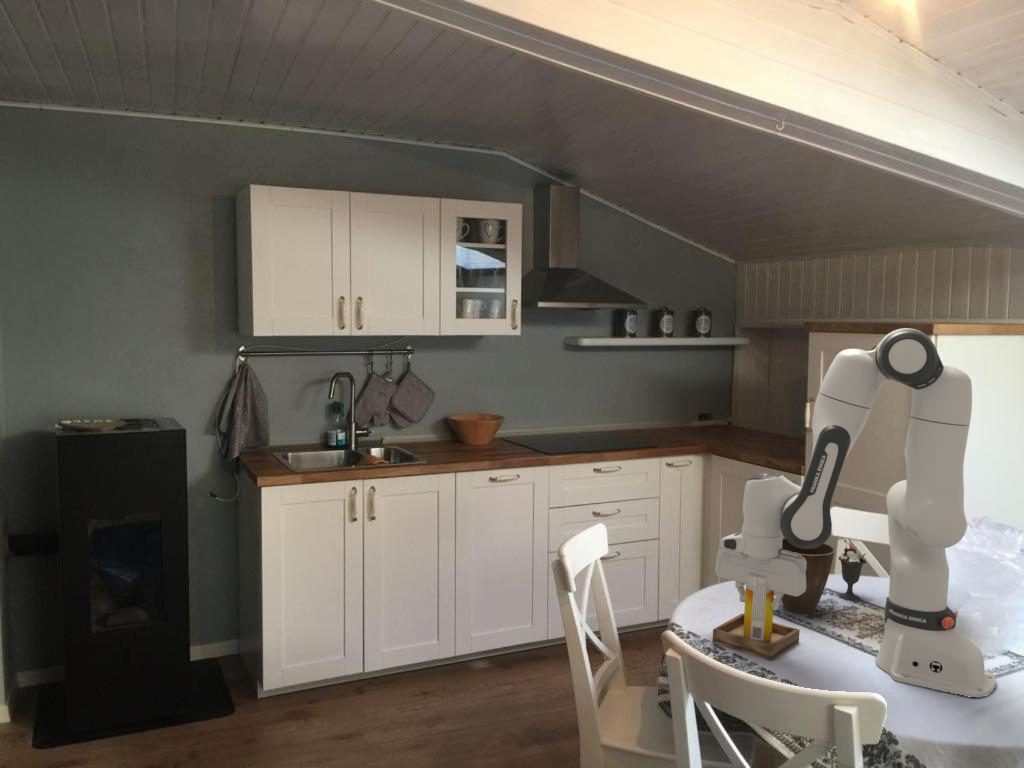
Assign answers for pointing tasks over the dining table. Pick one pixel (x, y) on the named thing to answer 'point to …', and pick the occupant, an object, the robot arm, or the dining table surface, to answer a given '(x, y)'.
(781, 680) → the dining table surface
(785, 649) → the walnut tray
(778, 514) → the robot arm
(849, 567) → the sundae
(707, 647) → the dining table surface
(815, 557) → the plant pot
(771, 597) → the beer can
